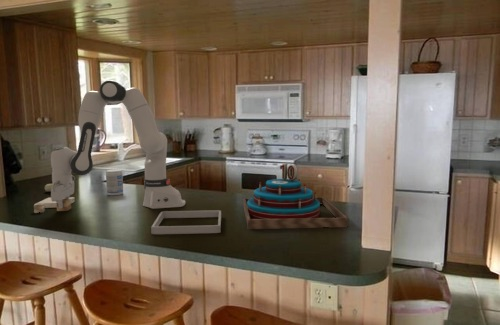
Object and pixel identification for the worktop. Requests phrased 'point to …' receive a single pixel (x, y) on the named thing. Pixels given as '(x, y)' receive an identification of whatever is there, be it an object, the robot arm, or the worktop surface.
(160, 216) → the grey tray rim
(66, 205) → the oak block
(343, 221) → the walnut cake board rim
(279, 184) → the birthday cake
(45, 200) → the plate
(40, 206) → the maple block
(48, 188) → the flower vase
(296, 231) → the worktop surface
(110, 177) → the supplement tub
